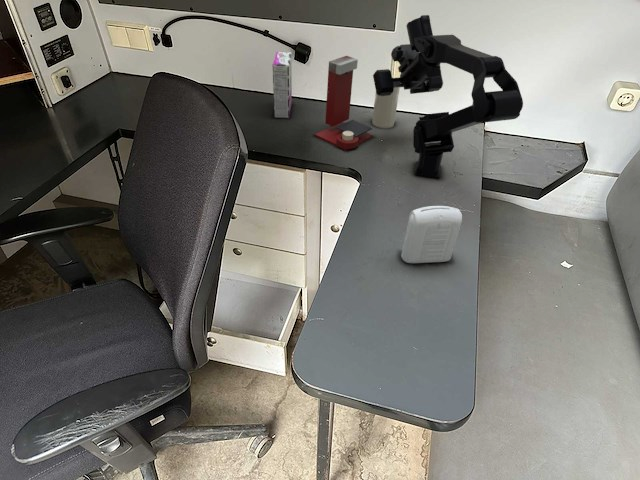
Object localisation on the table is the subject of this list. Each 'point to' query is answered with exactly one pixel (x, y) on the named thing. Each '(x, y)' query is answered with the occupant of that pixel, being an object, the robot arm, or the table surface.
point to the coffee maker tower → (342, 95)
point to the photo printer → (431, 234)
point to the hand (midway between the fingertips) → (395, 93)
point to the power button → (347, 136)
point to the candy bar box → (282, 84)
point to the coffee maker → (335, 137)
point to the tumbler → (385, 109)
